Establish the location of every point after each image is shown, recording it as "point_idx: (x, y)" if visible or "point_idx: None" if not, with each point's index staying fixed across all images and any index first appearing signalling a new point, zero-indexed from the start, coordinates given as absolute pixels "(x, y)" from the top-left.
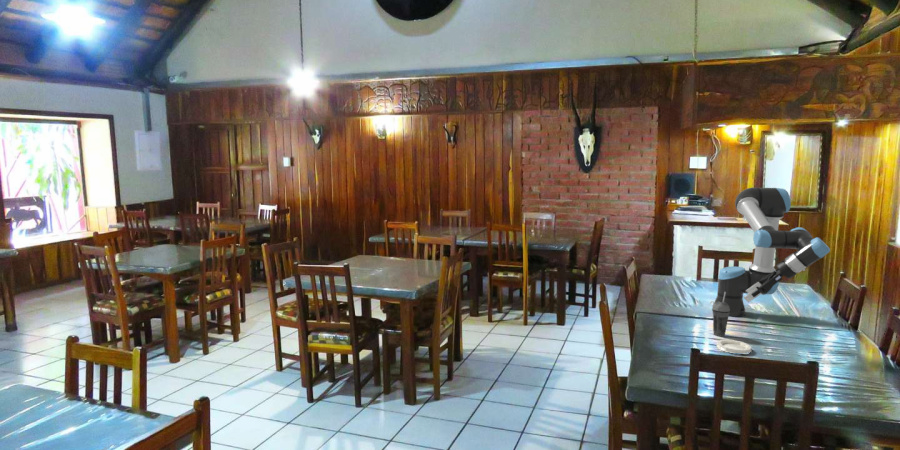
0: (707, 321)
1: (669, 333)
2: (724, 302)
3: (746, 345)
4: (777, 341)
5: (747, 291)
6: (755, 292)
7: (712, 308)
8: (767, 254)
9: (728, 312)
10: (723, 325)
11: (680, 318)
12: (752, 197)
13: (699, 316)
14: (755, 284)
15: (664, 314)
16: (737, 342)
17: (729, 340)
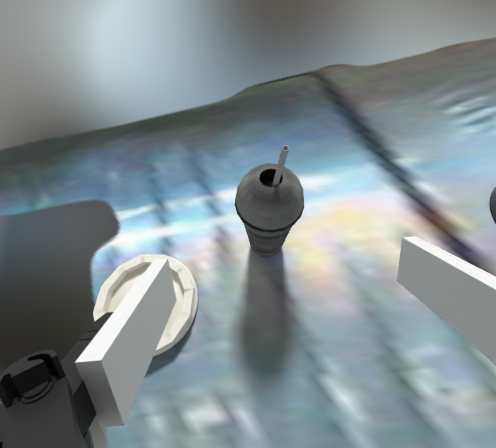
0: (377, 192)
1: (199, 151)
2: (268, 188)
3: (161, 337)
4: (339, 436)
5: (405, 251)
6: (74, 352)
7: (263, 172)
8: None
9: (255, 229)
10: (251, 239)
11: (344, 140)
12: None
13: (407, 167)
14: (491, 292)
15: (346, 109)
16: (183, 304)
17: (181, 280)
